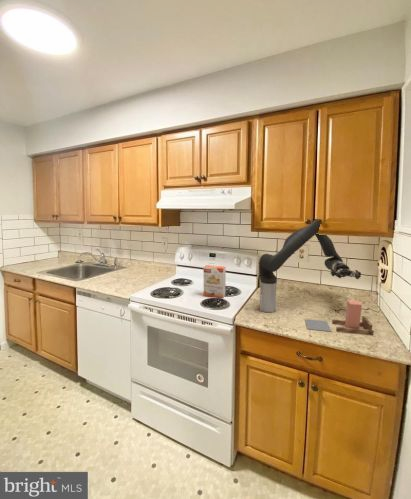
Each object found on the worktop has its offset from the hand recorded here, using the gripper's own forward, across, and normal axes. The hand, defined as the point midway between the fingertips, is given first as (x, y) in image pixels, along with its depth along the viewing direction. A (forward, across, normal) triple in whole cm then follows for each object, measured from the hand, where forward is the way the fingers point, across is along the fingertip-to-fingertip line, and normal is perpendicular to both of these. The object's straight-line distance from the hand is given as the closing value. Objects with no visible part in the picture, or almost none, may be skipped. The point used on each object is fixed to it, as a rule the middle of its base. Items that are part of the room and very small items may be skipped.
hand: (349, 276), depth 134 cm
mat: (+11, -16, +24) cm, 31 cm away
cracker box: (-19, -76, +24) cm, 82 cm away
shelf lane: (+11, 0, +24) cm, 26 cm away
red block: (+11, 0, +24) cm, 26 cm away
